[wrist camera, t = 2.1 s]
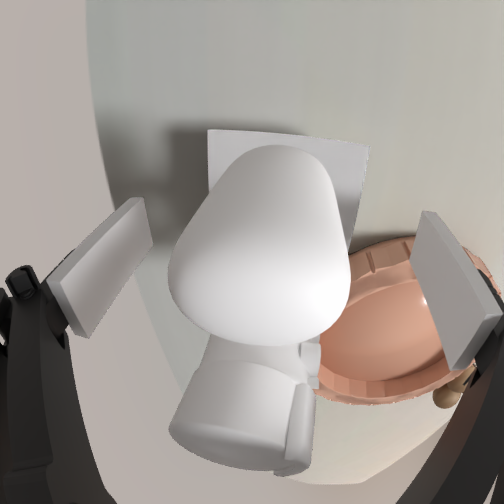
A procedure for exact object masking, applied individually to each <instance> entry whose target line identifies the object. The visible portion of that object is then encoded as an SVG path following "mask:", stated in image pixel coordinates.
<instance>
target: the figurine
mask: <svg viewBox="0 0 504 504" xmlns="http://www.w3.org/2000/svg"><path fill="white" fill-rule="evenodd" d="M369 152H370V146H368V145H362V144H357V143H351V142H345V141H338V140H331V139H324V138H317V137H309V136H300V135H291V134H281V133H269V132H256V131H239V130H213V129H208V182H209V194H208V196H207V197H206V198H205V200H204V201H203V203H202V204H201V206H200V207H199V209H198V210H197V212H196V213H195V214H194V216H193V217H192V219H191V220H190V222H189V223H188V225H187V226H186V228H185V229H184V231H183V232H182V234H181V236H180V237H179V239H178V241H177V242H176V245H175V247H174V249H173V252H172V255H171V259H170V262H169V266H168V285H169V289H170V292H171V295H172V298H173V300H174V302H175V303H176V305H177V306H178V307H179V309H180V310H181V312H182V313H183V314H184V315H185V316H186V317H187V318H188V319H189V320H190V321H192V322H193V323H194V324H195V325H197V326H198V327H200V328H202V329H203V330H205V331H207V332H209V333H211V335H210V338H209V341H208V344H207V347H206V350H205V353H204V356H203V359H202V361H201V364H200V366H199V368H198V369H197V370H196V371H195V372H194V374H193V376H192V379H191V381H190V383H189V385H188V387H187V389H186V391H185V393H184V396H183V398H182V400H181V402H180V404H179V406H178V408H177V411H176V413H175V415H174V417H173V419H172V421H171V423H170V426H169V432H170V435H171V436H172V438H173V439H174V440H175V441H176V442H177V443H178V444H179V445H181V446H182V447H184V448H185V449H187V450H188V451H190V452H192V453H194V454H196V455H198V456H200V457H202V458H204V459H207V460H210V461H212V462H215V463H218V464H222V465H225V466H229V467H234V468H239V469H245V470H257V471H271V470H274V475H276V476H282V477H284V476H289V475H294V474H298V473H301V472H303V471H304V470H306V469H308V468H309V466H310V464H311V456H312V450H313V449H312V447H313V435H314V423H315V411H316V396H315V393H314V391H313V390H312V389H319V379H318V378H317V375H318V372H319V367H320V359H321V345H320V344H319V340H320V334H321V333H323V332H324V331H325V330H327V329H328V328H330V327H331V326H332V325H333V324H334V323H335V322H336V321H337V319H338V318H339V317H340V315H341V314H342V312H343V310H344V308H345V306H346V303H347V301H348V297H349V291H350V283H351V272H350V264H349V258H348V250H349V246H350V242H351V238H352V234H353V230H354V226H355V221H356V217H357V212H358V208H359V203H360V199H361V194H362V189H363V184H364V179H365V174H366V169H367V163H368V157H369Z"/></svg>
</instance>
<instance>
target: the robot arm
mask: <svg viewBox="0 0 504 504" xmlns="http://www.w3.org/2000/svg"><path fill="white" fill-rule="evenodd" d="M152 247H153V240H152V236H151V231H150V227H149V222H148V217H147V213H146V208H145V203H144V197H130V198H129V199H128V200H127V201H126V202H125V203H124V204H122V205H121V206H120V207H119V208H118V209H117V210H116V211H115V212H113V213H112V214H111V215H110V216H109V217H108V218H107V219H106V220H105V221H104V222H103V223H101V224H100V225H99V226H98V227H97V228H96V229H95V230H94V231H93V232H92V233H91V234H90V235H89V236H88V237H87V238H86V239H85V240H84V241H83V242H82V243H81V244H80V245H79V246H78V247H77V248H76V249H74V250H72V251H71V252H70V253H69V254H68V255H67V256H66V257H65V258H64V260H62V261H61V262H60V263H59V265H58V266H57V267H56V268H54V270H53V271H52V272H51V273H50V274H49V275H48V276H47V277H46V278H45V279H44V280H43V282H42V283H41V284H40V283H39V281H38V279H37V277H36V274H35V272H34V270H33V268H32V267H31V266H30V265H25V266H21V267H19V268H17V269H15V270H14V271H13V272H11V273H10V274H9V275H8V277H7V278H6V280H5V282H6V284H7V286H8V288H9V290H10V292H11V294H12V295H13V297H8V295H7V294H6V292H5V290H4V289H3V288H0V334H1V336H2V337H3V339H4V340H5V342H4V345H2V344H1V343H0V504H117V503H116V502H115V500H114V499H113V498H112V496H111V495H109V493H108V492H107V490H106V489H105V487H104V485H103V482H102V480H101V477H100V474H99V471H98V468H97V465H96V462H95V459H94V457H93V453H92V450H91V447H90V443H89V440H88V436H87V433H86V429H85V425H84V422H83V417H82V413H81V409H80V404H79V400H78V395H77V390H76V385H75V380H74V374H73V368H72V362H71V355H70V347H69V339H68V335H67V333H66V331H65V329H66V328H67V326H68V325H70V327H71V329H72V330H73V332H74V334H75V335H78V336H81V337H85V338H88V339H89V338H90V336H91V335H92V333H93V332H94V330H95V328H96V327H97V325H98V324H99V322H100V321H101V319H102V318H103V316H104V315H105V313H106V312H107V310H108V309H109V307H110V306H111V304H112V303H113V301H114V300H115V298H116V297H117V295H118V294H119V292H120V291H121V289H122V288H123V287H124V285H125V284H126V282H127V281H128V280H129V278H130V277H131V275H132V274H133V273H134V271H135V270H136V268H137V267H138V266H139V264H140V263H141V261H142V260H143V259H144V257H145V256H146V255H147V253H148V252H149V251H150V249H151V248H152ZM409 262H410V264H411V267H412V269H413V271H414V273H415V276H416V278H417V280H418V283H419V285H420V287H421V290H422V292H423V295H424V297H425V300H426V302H427V305H428V307H429V310H430V313H431V315H432V318H433V321H434V324H435V326H436V329H437V332H438V335H439V338H440V341H441V344H442V347H443V350H444V353H445V356H446V360H447V363H448V366H449V370H450V371H454V370H463V369H467V367H468V366H469V365H470V363H471V362H472V360H473V359H475V362H476V365H477V367H476V368H475V369H474V371H473V372H472V373H471V374H470V376H469V377H468V378H467V379H466V381H465V382H464V383H463V385H464V386H465V385H466V384H467V383H468V384H467V386H466V388H465V391H464V393H463V395H462V397H461V399H460V402H459V404H458V406H457V408H456V410H455V412H454V414H453V416H452V418H451V420H450V422H449V423H448V425H447V427H446V429H445V431H444V433H443V434H442V436H441V438H440V440H439V441H438V443H437V445H436V446H435V448H434V450H433V451H432V453H431V455H430V456H429V458H428V459H427V461H426V463H425V464H424V465H423V467H422V469H421V470H420V472H419V473H418V474H417V476H416V477H415V479H414V480H413V481H412V483H411V484H410V486H409V487H408V489H407V490H406V491H405V492H404V494H403V495H402V496H401V497H400V499H399V500H398V501H397V503H396V504H483V503H484V501H485V499H486V498H487V495H488V494H489V492H490V490H491V488H492V485H493V483H494V481H495V479H496V477H497V475H498V477H497V481H496V485H495V488H494V492H493V495H492V498H491V502H490V504H504V303H503V301H502V299H501V297H500V296H499V295H498V292H497V291H496V289H495V288H493V284H492V283H491V281H490V279H489V278H488V277H487V276H486V275H485V274H484V273H483V272H482V271H481V270H480V269H476V267H475V265H474V264H473V262H472V261H471V259H470V258H469V256H468V255H467V254H466V252H465V251H464V249H463V248H462V246H461V245H460V244H459V242H458V241H457V239H456V238H455V237H454V235H453V234H452V233H451V231H450V230H449V229H448V227H447V226H446V225H445V223H444V222H443V221H442V219H441V218H440V217H439V216H438V214H437V213H436V212H429V211H422V213H421V218H420V222H419V226H418V230H417V233H416V237H415V241H414V245H413V248H412V252H411V255H410V258H409Z"/></svg>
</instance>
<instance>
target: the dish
mask: <svg viewBox="0 0 504 504" xmlns="http://www.w3.org/2000/svg"><path fill="white" fill-rule="evenodd" d="M415 237H416V236H411V237H402V238H396V239H392V240H387V241H383V242H380V243H377V244H374V245H371V246H368V247H366V248H364V249H362V250H359V251H357V252H355V253H353V254H351V255H349V256H348V258H349V264H350V272H351V283H350V291H349V297H348V301H347V303H346V306H345V308H344V310H343V312H342V314H341V315H340V317H339V318H338V319H337V321H336V322H335V323H334V324H333V325H332V326H331V327H330V328H328V329H327V330H325V331H324V332H323V333H321V334H320V340H319V344H320V345H321V359H320V367H319V372H318V375H317V378H318V379H319V389H312V390H313V391H314V393H315V394H317V395H320V396H323V397H324V398H326V399H328V400H330V399H331V401H336V402H342V403H345V404H350V403H351V405H369V406H370V405H371V404H373V405H379V404H391V403H393V402H395V403H396V402H400V401H403V400H407V399H412V398H414V397H419V396H421V395H423V394H425V393H428V392H431V391H433V390H435V389H436V388H440V387H441V386H443V385H444V384H446V383H448V382H450V381H451V380H453V379H455V377H458V376H459V375H460V374H461V373H462V372H463V371H465V370H466V369H463V370H454V371H450V370H449V366H448V363H447V360H446V356H445V353H444V350H443V347H442V344H441V341H440V338H439V335H438V332H437V329H436V326H435V324H434V321H433V318H432V315H431V313H430V310H429V307H428V305H427V302H426V300H425V297H424V295H423V292H422V290H421V287H420V285H419V283H418V280H417V278H416V276H415V273H414V271H413V269H412V267H411V264H410V262H409V258H410V255H411V252H412V248H413V245H414V241H415ZM462 248H463V249H464V251H465V252H466V254H467V255H468V256H469V258H470V259H471V261H472V262H473V264H474V265H475V267H476V269H480V270H481V271H482V272H483V273H484V274H485V275H486V276H487V277H488V278H489V279H490V281H491V283H492V284H493V288H495V289H496V291H497V292H498V295H499V296H500V297H501V292H500V289H499V288H498V286H497V284H496V283H495V281H494V280H493V277H492V275H491V274H490V272H489V271H488V269H487V268H486V266H485V264H484V263H483V262H482V260H481V259H480V258H479V257H477V256H475V255H473V254H472V253H471V252H470V251H468V250H467V249H466V248H464V247H463V246H462ZM472 363H475V359H473V360H472V362H471V363H470V365H469V366H468V367H467V368H469V367H470V366H472Z"/></svg>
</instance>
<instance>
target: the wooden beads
mask: <svg viewBox="0 0 504 504" xmlns="http://www.w3.org/2000/svg"><path fill="white" fill-rule="evenodd" d="M475 368H476V367H474V365H473V364H472V366H470V367H469V368H467V369H466V370H465V371H463V372H462V373H461V374H460V375H459V376H458V377H455V379H453V380H451V381H450V382H448V383H446V384H444V385H443V386H441V387H440V388H436V389H435V390H434V391H433V401H434V403H435V404H436V406H438V407H439V408H443V409H446V408H450V407H452V406H453V405H455V404H456V403H457V401H458V400H459V398H460V395H461V393H464V391H465V388H466V386H467V384H468V383H467V384H466V385H465V386H464V385H463V383H464V382H465V381H466V379H467V378H468V377H469V376H470V374H471V373H472V372H473V371H474V369H475Z"/></svg>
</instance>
